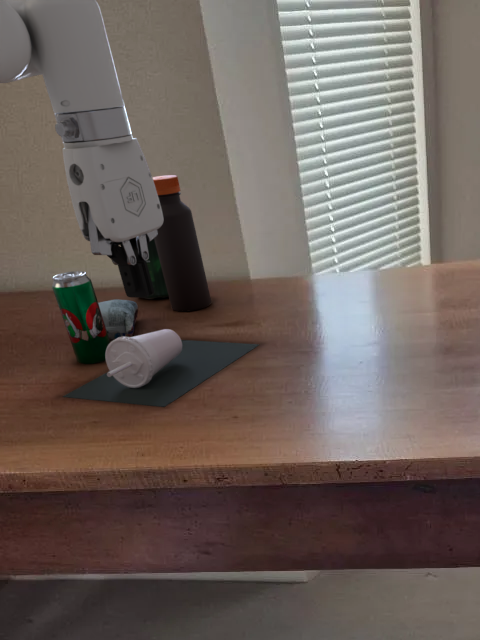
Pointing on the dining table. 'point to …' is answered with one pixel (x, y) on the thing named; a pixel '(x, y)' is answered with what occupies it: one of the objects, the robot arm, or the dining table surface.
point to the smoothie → (141, 356)
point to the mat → (168, 375)
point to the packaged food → (119, 317)
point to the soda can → (81, 316)
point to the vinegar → (179, 249)
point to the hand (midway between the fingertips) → (140, 295)
